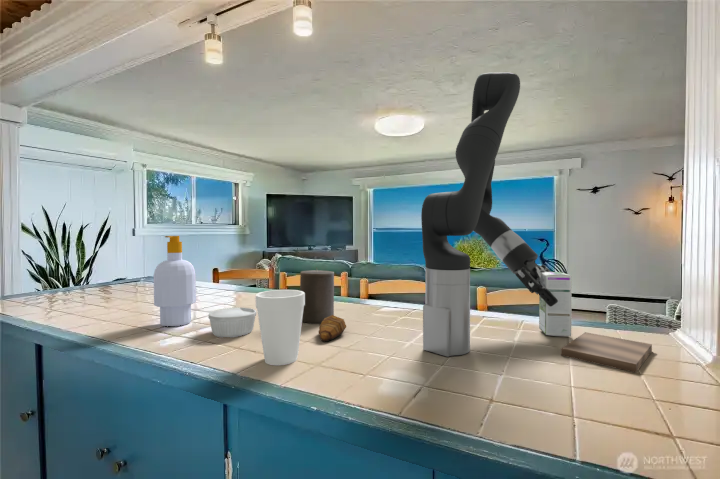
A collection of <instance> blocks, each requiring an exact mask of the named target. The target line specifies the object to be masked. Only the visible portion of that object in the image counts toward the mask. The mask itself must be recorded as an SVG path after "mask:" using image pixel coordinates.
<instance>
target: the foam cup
mask: <svg viewBox="0 0 720 479" xmlns="http://www.w3.org/2000/svg"><path fill="white" fill-rule="evenodd" d="M304 305H305V293H304V292H303V291H300V289H299V290H298V289H273V290H265V291H260V292H257V293H255V309H256V312H257V317H258V324H259V330H260V337H261V338H260V339H261V346H262V351H263V358H264V363H265V364H267V365H271V366H284V365H285V366H286V365H289V364H292V363H295V362H296V361H297V360H298V356H299V351H300V341H301V334H302V323H303V322H302V317H303V309H304Z"/></svg>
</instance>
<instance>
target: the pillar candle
mask: <svg viewBox="0 0 720 479" xmlns="http://www.w3.org/2000/svg"><path fill="white" fill-rule="evenodd" d="M315 269H316V270H314V269H313V270H312V269H311V270H301V271H300V276H299V277H300V278H299V281H300V283H299V286H300V287H299V291H303V292H304V293H305V305H304V309H303V317H302V323H307V324H311V325H312V324H321V323H322V321H323V320H324V319H325V318H327V317H329V316H331V315H334V316H335V271H330V270H319V269H318V267H317V266H316V267H315Z"/></svg>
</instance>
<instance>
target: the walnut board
mask: <svg viewBox="0 0 720 479" xmlns="http://www.w3.org/2000/svg"><path fill="white" fill-rule="evenodd" d="M560 349H561V350H560V352H561V353H560V355H561V357H566V358H567V357H568V358H570V359H574V360H579V361H583V362H588V363H593V364H597V365H601V366H606V367H610V368H615V369H618V370H619V369H620V370H623V371H628V372H632V373H636V374H637V372H638V371H639V369H640V368H641V367H642V365H643V364H644V363H645V361H646V360H647V359H648V358H649V356H650V354H652V351H653V344H652V343H646V342H642V341H637V340H631V339H624V338H621V337H620V338H619V337H614V336H609V335H603V334H602V335H601V334H596V333H591V332H585V331H584V332H583V333H582V334H580V335H579V336H577V337H576V338H574V339H573V340H571V341H570V342H568V343H566V344H565V345H564V346H562V347H561V348H560Z"/></svg>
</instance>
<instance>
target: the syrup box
mask: <svg viewBox="0 0 720 479" xmlns="http://www.w3.org/2000/svg"><path fill="white" fill-rule="evenodd" d="M540 274H541V275H542V277H543V279H544V282H543V283H544V285H545V287H546V288H545V289H548V290H549V291H550V292H551V293H552V294H553V296H554V297H555V298H556V299H557V300H558V302H557V303H556V304H555V305H553V306H549V305H548V304H547V303H546V302H545V301H544V300H543V299H542V298H541V297H540V295H539V294H538V296H539V302H538V304H539V306H538V307H539V308H538V309H539V312H538V319H539V320H538V323H539V326H538V329H539V330H540V331H541V332H542V333H544V335H546V336H554V337H572V324H573V323H572V318H573V317H572V316H573V315H572V313H573V312H572V309H573V308H572V304H573V302H572V274H568V273H564V272H561V271H560V272H559V271H557V272H556V271H551V272H540Z"/></svg>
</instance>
